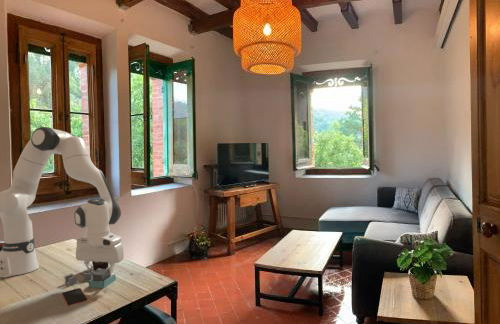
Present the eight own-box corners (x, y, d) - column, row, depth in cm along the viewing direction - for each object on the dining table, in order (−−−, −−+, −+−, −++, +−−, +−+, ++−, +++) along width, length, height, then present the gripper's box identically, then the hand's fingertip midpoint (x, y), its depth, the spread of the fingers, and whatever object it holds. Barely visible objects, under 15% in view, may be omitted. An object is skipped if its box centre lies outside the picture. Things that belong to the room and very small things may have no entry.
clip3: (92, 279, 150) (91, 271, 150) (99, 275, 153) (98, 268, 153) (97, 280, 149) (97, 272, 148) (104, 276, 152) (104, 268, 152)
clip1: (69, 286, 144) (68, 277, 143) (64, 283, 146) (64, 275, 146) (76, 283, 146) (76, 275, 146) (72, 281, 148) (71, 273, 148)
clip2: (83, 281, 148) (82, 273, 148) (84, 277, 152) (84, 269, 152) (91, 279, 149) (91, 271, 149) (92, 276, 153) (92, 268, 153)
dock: (88, 287, 142) (88, 281, 142) (101, 279, 150) (101, 273, 150) (103, 288, 140) (103, 282, 140) (115, 280, 148) (115, 274, 148)
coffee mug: (86, 269, 161) (85, 248, 161) (102, 263, 169) (101, 243, 168) (104, 273, 156) (102, 251, 155) (119, 267, 163) (118, 246, 163)
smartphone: (67, 305, 126) (61, 292, 137) (67, 307, 126) (61, 294, 137) (88, 299, 130) (80, 287, 141) (88, 301, 130) (80, 288, 141)
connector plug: (93, 285, 142) (92, 274, 142) (108, 275, 152) (107, 265, 152) (102, 285, 142) (101, 274, 141) (116, 276, 151) (115, 265, 151)
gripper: (71, 239, 143) (72, 272, 144) (116, 242, 138) (117, 276, 139) (81, 235, 149) (83, 267, 150) (125, 237, 144) (126, 270, 145)
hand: (100, 271), depth 144 cm, fingers open, 8 cm apart
